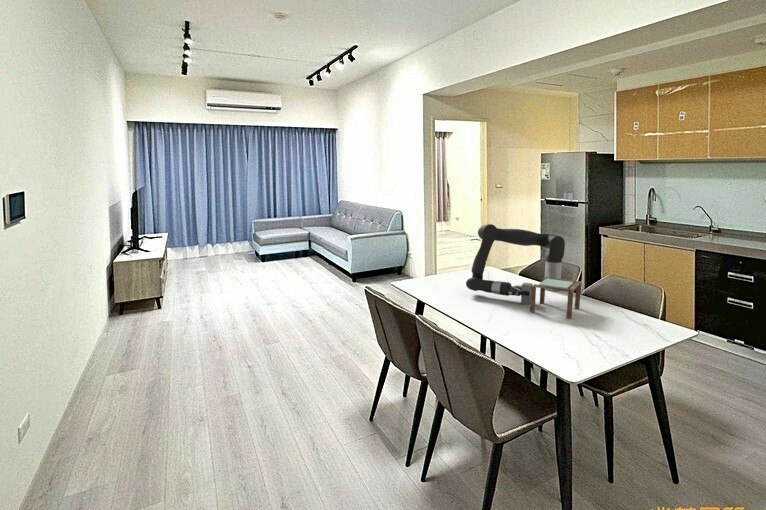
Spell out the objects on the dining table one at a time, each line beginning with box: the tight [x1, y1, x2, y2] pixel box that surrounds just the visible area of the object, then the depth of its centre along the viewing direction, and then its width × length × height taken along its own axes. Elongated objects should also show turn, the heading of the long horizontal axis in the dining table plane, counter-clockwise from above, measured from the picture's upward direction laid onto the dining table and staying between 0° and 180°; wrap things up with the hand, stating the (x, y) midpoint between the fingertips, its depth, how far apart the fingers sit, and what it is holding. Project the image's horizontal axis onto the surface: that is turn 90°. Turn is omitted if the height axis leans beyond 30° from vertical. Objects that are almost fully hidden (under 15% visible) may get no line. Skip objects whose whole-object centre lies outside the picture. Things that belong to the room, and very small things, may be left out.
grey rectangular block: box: [520, 282, 534, 306], centre depth 251 cm, size 4×4×11 cm
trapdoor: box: [538, 279, 575, 289], centre depth 237 cm, size 14×15×1 cm
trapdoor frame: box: [529, 276, 582, 320], centre depth 238 cm, size 20×20×14 cm
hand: (531, 292), depth 249 cm, fingers open, 6 cm apart
